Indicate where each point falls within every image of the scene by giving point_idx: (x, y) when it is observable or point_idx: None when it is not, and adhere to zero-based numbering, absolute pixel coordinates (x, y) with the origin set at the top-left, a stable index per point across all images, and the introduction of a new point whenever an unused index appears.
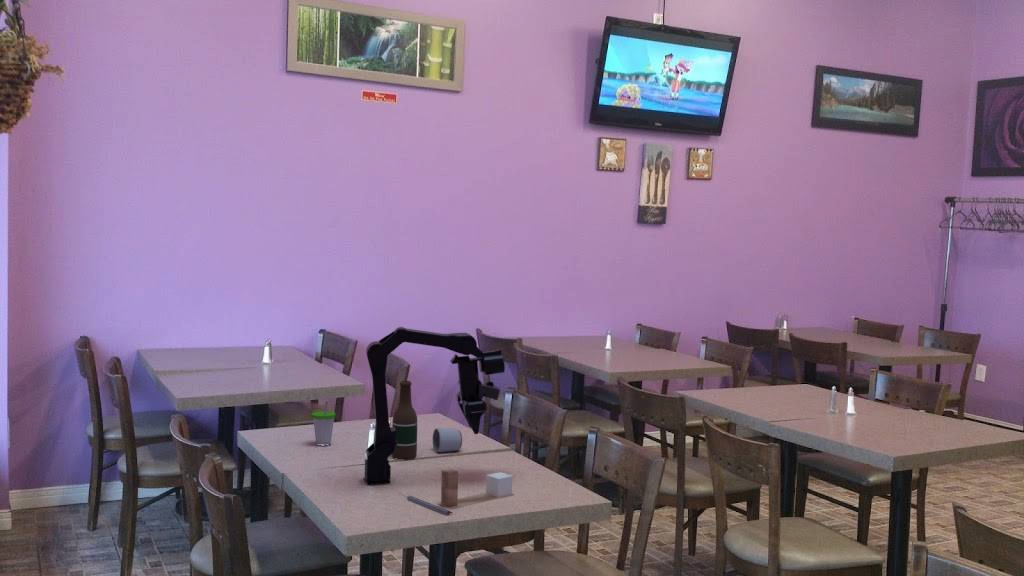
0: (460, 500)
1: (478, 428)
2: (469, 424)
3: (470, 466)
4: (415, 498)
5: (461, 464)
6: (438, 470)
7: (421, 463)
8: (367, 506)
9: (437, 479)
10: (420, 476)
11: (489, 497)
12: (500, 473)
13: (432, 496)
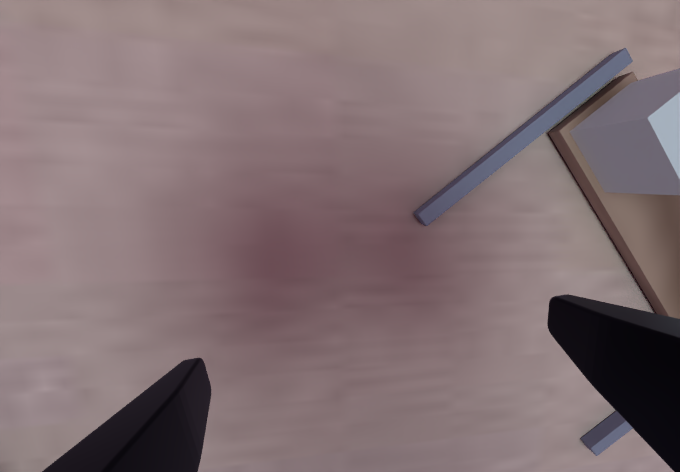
0: (676, 286)
1: (641, 317)
2: (203, 420)
3: (107, 252)
4: (624, 429)
5: (74, 294)
6: None
7: None
8: None
9: (341, 378)
10: (300, 442)
11: None
12: (672, 119)
13: (556, 376)
